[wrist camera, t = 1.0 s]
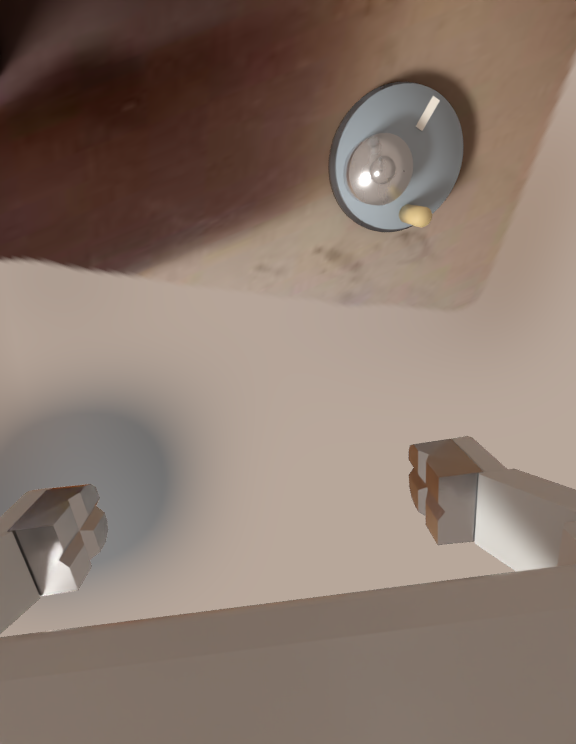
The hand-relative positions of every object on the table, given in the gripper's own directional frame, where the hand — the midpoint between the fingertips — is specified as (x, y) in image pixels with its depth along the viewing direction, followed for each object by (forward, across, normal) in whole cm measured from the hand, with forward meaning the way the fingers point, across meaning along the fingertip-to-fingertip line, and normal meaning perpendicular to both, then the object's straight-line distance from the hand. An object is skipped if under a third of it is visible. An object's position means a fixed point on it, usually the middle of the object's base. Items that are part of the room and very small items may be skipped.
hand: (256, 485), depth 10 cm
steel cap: (+28, -11, -12) cm, 32 cm away
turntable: (+29, -13, -12) cm, 34 cm away
